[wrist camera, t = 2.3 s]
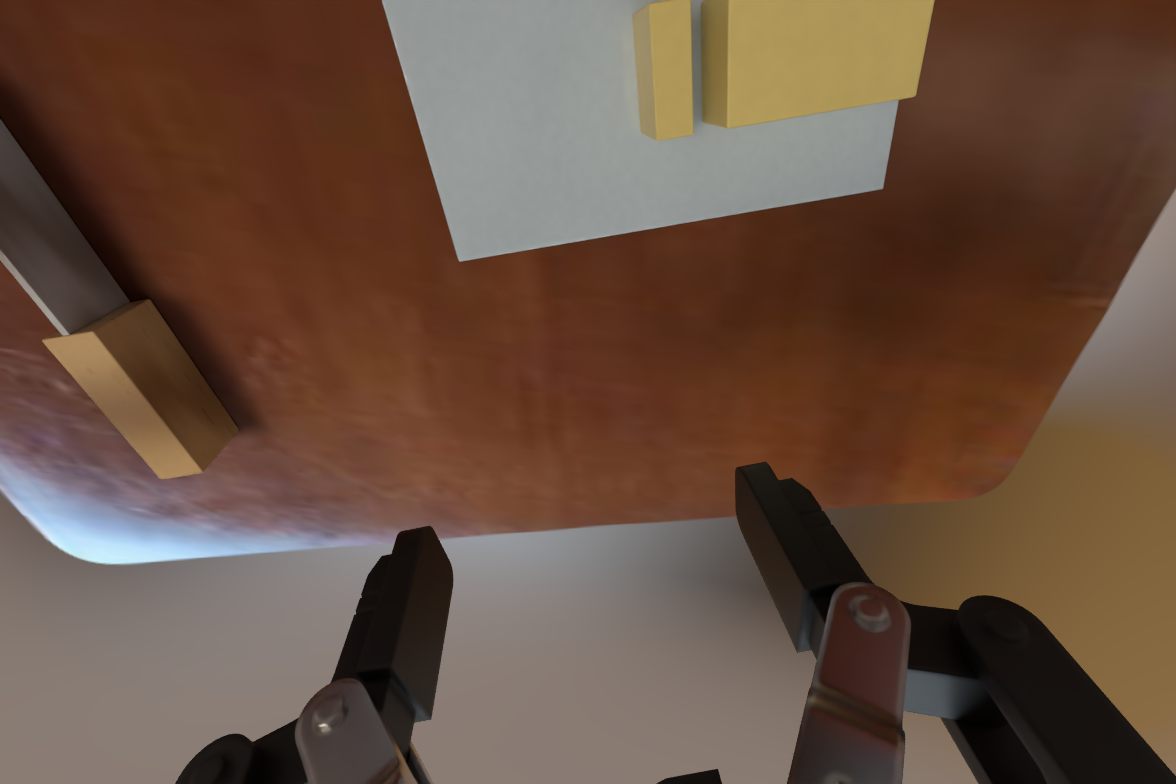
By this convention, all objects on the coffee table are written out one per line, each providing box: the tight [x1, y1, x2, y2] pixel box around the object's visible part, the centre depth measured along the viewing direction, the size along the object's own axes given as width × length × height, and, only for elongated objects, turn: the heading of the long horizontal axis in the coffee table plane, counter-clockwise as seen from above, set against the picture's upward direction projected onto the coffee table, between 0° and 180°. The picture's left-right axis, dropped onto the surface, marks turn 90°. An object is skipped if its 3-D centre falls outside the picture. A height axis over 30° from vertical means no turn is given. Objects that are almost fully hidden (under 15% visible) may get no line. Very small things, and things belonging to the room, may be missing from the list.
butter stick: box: [701, 0, 935, 129], centre depth 18 cm, size 4×7×3 cm, turn 98°
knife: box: [0, 119, 239, 479], centre depth 21 cm, size 17×2×4 cm, turn 8°
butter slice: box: [632, 0, 694, 141], centre depth 18 cm, size 4×1×3 cm, turn 8°
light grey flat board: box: [382, 0, 899, 262], centre depth 20 cm, size 12×20×1 cm, turn 98°
